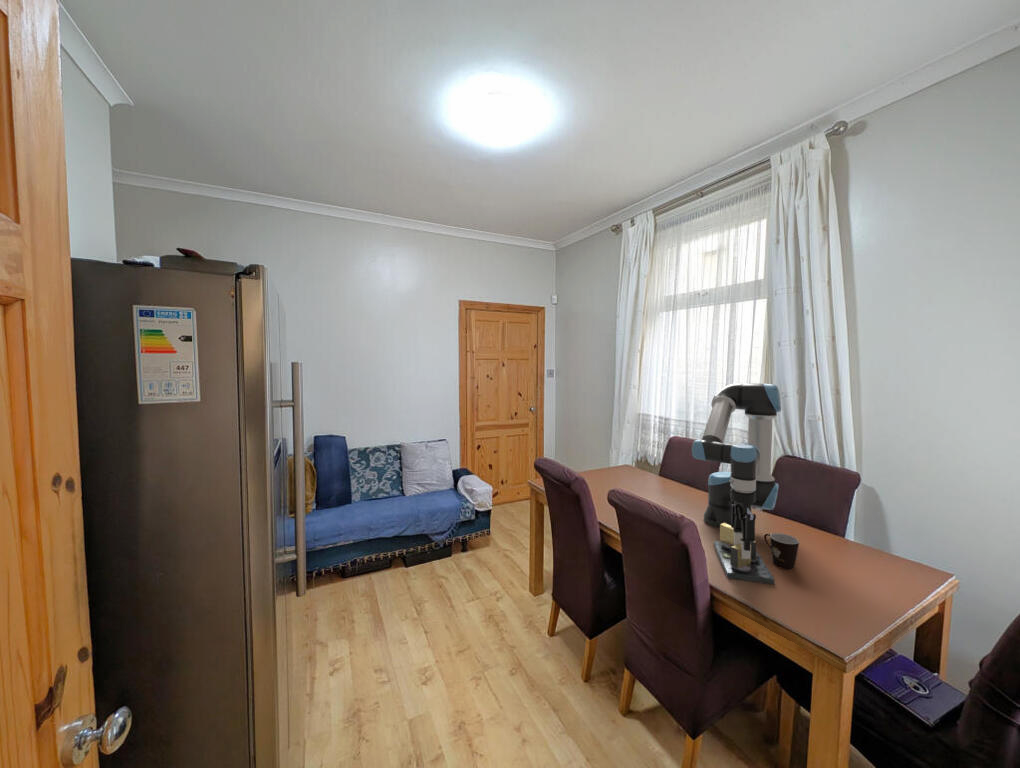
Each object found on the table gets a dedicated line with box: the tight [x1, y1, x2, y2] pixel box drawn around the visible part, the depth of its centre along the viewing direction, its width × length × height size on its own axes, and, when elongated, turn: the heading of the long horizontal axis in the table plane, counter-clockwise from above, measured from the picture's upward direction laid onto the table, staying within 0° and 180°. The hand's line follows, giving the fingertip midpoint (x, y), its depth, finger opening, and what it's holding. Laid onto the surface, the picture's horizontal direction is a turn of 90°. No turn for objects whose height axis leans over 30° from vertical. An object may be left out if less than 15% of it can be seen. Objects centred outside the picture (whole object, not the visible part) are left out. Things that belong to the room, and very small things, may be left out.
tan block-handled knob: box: [719, 523, 735, 550], centre depth 149 cm, size 7×6×8 cm
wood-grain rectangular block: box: [751, 541, 759, 563], centre depth 140 cm, size 7×6×8 cm
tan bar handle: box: [730, 544, 751, 573], centre depth 134 cm, size 7×6×8 cm
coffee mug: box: [763, 532, 800, 571], centre depth 141 cm, size 12×9×10 cm
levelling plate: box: [713, 540, 775, 585], centre depth 141 cm, size 24×14×3 cm, turn 162°
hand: (742, 553), depth 134 cm, fingers closed on tan bar handle, 5 cm apart
